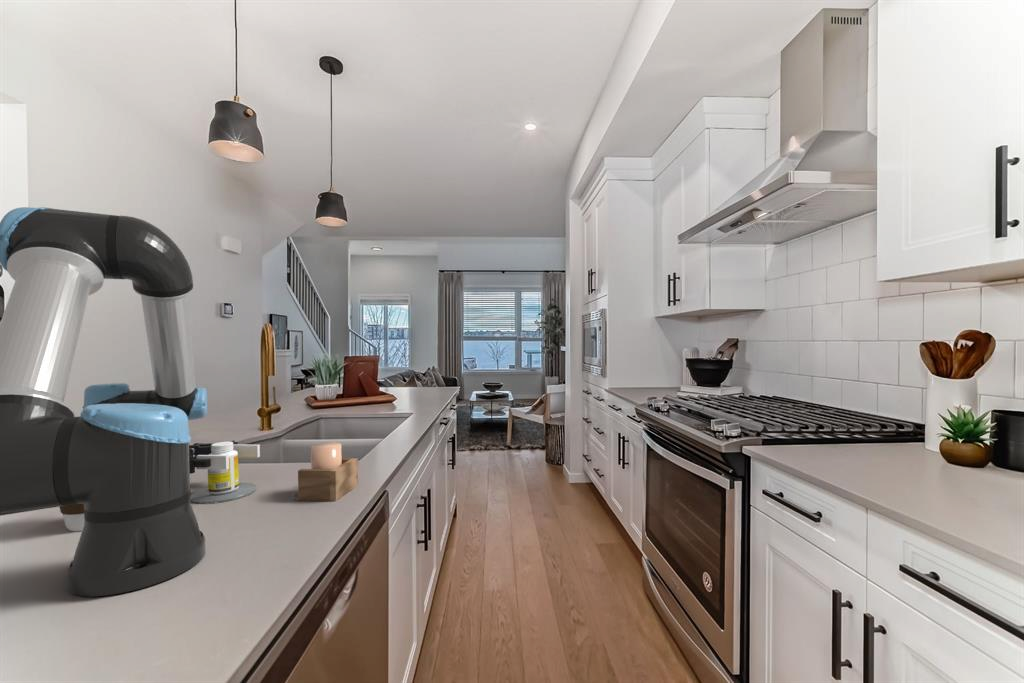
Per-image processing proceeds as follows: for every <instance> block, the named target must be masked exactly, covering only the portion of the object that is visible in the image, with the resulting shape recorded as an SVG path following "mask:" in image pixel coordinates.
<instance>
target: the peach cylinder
mask: <svg viewBox="0 0 1024 683" xmlns="http://www.w3.org/2000/svg"><path fill="white" fill-rule="evenodd" d="M342 458H343V456H342V443H340V442H337V441H336V442H335V441H334V442H333V441H332V442H331V441H330V442H329V441H328V442H320V443H317V444H313V445H311V446H310V467H311V468H310V469H334V468H336V467H338V466H340V465H341V464H342Z"/></svg>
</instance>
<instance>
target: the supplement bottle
mask: <svg viewBox="0 0 1024 683" xmlns="http://www.w3.org/2000/svg"><path fill="white" fill-rule="evenodd" d="M213 443H214V444H212V445H211V452H212V453H211V454H209V455H229V469H226V470H222V469H207V485H208V487H207V488H208V490H209V493H210V494H213V495H220V494H226V493H230V492H233V491H235V490H237V489H238V488H239V483H240V474H239V457H238V452H237V451H235V450H233V442H231V441H220V442H213Z"/></svg>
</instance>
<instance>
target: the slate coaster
mask: <svg viewBox="0 0 1024 683" xmlns="http://www.w3.org/2000/svg"><path fill="white" fill-rule="evenodd" d="M256 489H257V490H258V485H257V484H255V483H252V482H239V488H238V489H237V490H235V491H233V492H230V493H226V494H220V495H213V494H210V493H209V490H208V487H206V488H203V489H200V490H197V491H195V492H193V493H191V494H190V500H191V501H192V502H191V501H190V502H191V503H193V502H195V503H194V504H199V503H210V504H216V503H215V502H220V503H224V502H223V501H226V502H229V501H228V500H231V501H233V500H232V499H235V500H237V499H236V498H239V499H241V498H240V497H242V498H244V496H245V497H247V496H246V495H248V496H249V494H250V495H251V493H252V494H253V492H254V491H255V490H256ZM257 490H256V491H257ZM256 491H255V492H256ZM255 492H254V493H255Z"/></svg>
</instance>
